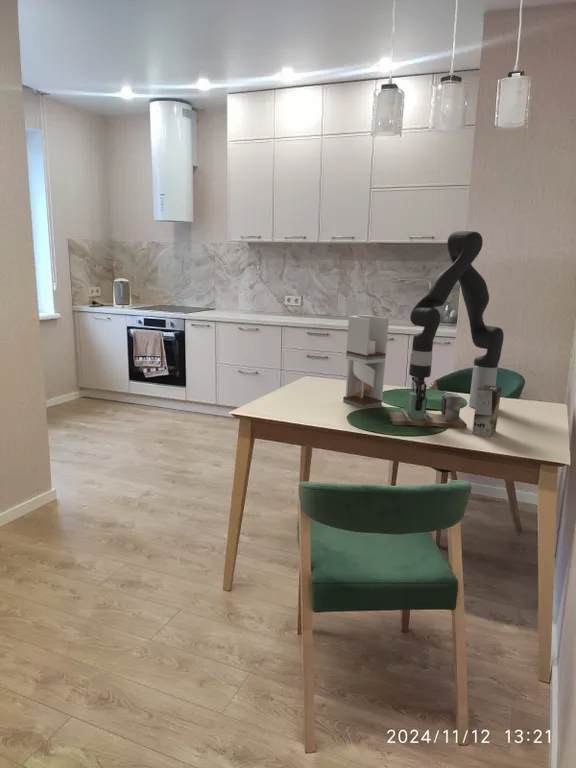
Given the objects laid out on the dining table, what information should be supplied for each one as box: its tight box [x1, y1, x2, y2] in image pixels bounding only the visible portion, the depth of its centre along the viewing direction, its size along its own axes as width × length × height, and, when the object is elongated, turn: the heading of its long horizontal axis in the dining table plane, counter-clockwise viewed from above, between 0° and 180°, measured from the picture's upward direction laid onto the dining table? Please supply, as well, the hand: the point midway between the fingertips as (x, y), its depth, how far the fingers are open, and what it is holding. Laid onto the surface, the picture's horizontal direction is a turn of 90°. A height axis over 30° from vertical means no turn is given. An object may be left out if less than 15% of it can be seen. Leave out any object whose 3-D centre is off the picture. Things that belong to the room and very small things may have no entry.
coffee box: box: [471, 385, 502, 438], centre depth 193 cm, size 9×6×16 cm
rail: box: [387, 392, 468, 429], centre depth 203 cm, size 26×12×10 cm, turn 89°
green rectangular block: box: [407, 391, 428, 419], centre depth 203 cm, size 6×5×9 cm
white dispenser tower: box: [342, 315, 390, 409], centre depth 223 cm, size 11×11×35 cm
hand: (416, 407), depth 204 cm, fingers open, 6 cm apart
